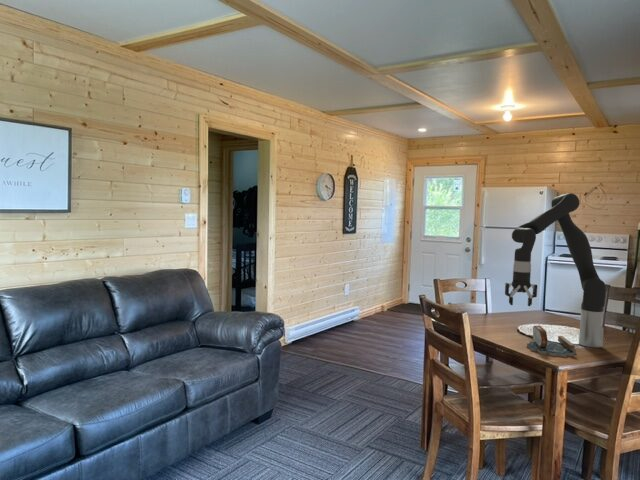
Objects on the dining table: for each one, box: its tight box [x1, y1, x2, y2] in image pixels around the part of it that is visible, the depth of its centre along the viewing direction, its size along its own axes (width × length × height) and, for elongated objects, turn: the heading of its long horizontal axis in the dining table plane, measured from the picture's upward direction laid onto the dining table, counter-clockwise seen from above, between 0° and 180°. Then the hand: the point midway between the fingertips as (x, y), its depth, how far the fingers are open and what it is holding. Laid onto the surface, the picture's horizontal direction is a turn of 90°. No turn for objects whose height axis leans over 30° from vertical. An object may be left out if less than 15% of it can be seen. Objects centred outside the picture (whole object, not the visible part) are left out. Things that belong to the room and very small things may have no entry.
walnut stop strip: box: [557, 335, 576, 351], centre depth 216 cm, size 2×16×2 cm, turn 170°
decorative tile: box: [526, 340, 577, 358], centre depth 216 cm, size 20×20×2 cm
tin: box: [532, 325, 548, 348], centre depth 218 cm, size 15×3×8 cm, turn 170°
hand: (520, 305), depth 219 cm, fingers open, 7 cm apart
